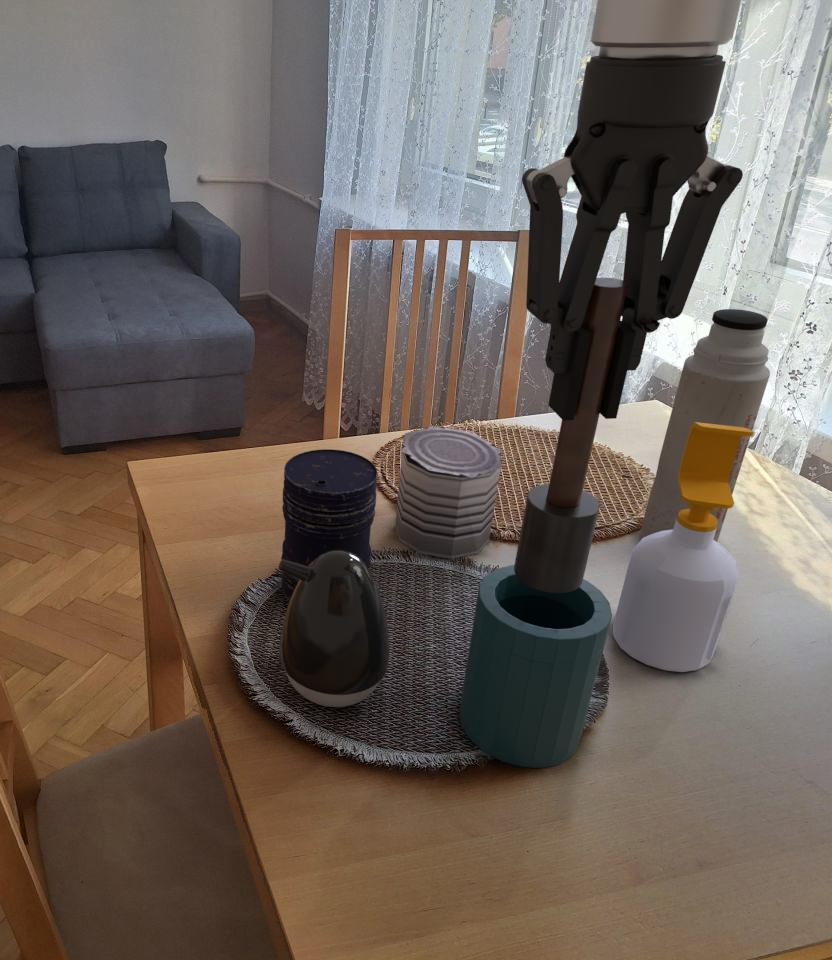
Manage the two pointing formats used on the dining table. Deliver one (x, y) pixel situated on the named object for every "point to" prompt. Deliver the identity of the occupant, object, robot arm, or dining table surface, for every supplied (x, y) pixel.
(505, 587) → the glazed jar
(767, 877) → the dining table surface
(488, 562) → the dining table surface
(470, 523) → the can
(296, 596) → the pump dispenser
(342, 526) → the storage jar
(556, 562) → the round mallet
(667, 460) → the thermos bottle
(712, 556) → the soap bottle
